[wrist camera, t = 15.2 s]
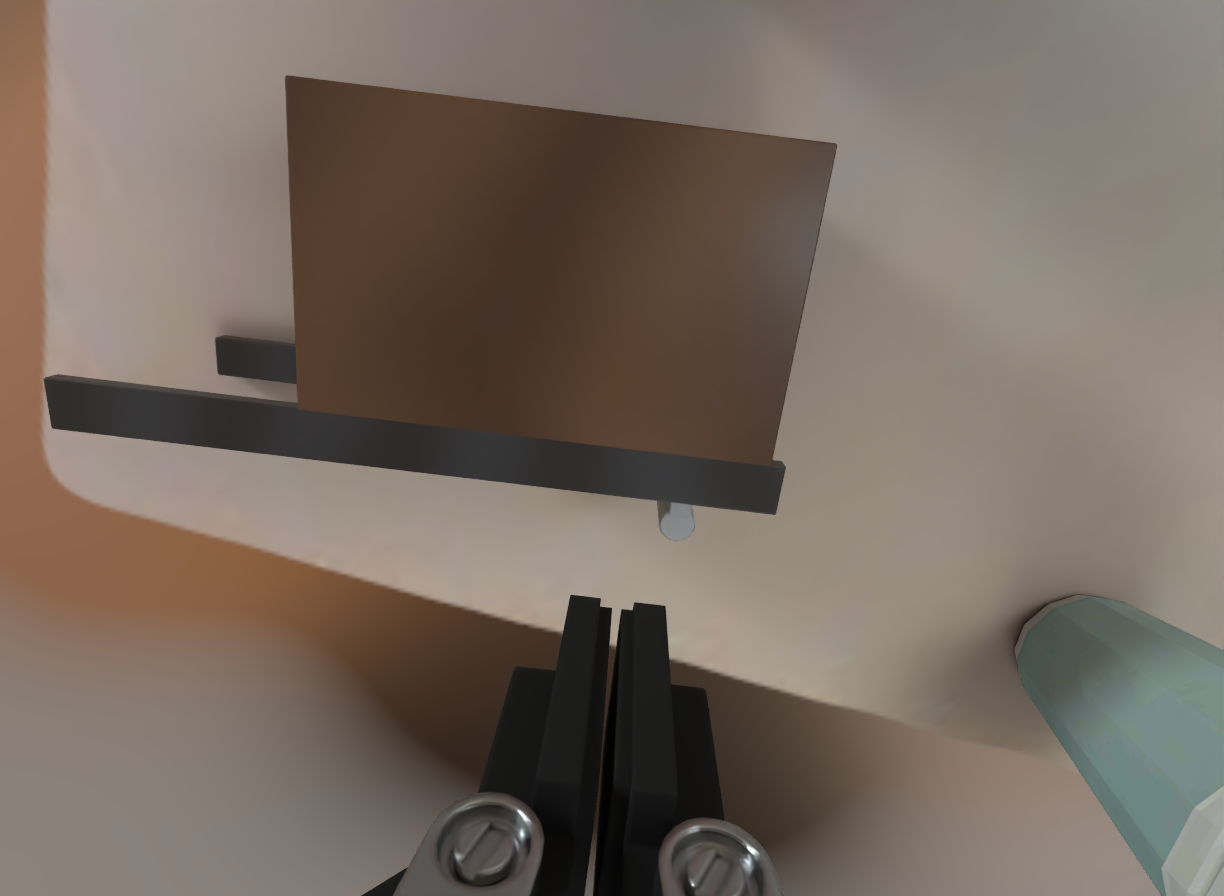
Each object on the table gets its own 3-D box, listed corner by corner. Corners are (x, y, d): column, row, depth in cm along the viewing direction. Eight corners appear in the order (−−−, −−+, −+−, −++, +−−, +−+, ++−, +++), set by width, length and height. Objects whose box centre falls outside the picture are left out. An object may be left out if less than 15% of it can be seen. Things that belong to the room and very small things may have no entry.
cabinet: (779, 177, 28) (855, 145, 18) (732, 432, 32) (775, 515, 22) (207, 106, 28) (-14, 37, 18) (227, 371, 31) (51, 428, 22)
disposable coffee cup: (941, 620, 34) (1159, 889, 20) (1135, 514, 32) (1534, 731, 18) (1027, 751, 37) (1277, 1072, 23) (1213, 660, 35) (1619, 953, 20)
